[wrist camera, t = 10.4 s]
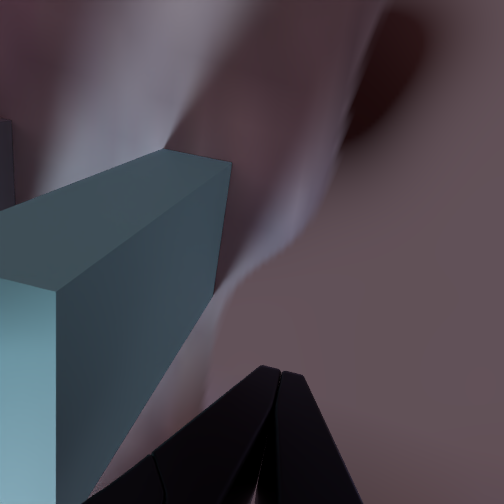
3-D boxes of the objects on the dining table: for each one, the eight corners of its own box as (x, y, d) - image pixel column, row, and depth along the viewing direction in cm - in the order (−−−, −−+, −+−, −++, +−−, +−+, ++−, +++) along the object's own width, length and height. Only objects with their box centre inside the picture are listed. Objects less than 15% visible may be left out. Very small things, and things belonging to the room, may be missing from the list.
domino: (232, 162, 15) (55, 291, 6) (212, 296, 17) (55, 549, 8) (162, 148, 16) (-106, 252, 6) (151, 281, 17) (-69, 509, 8)
